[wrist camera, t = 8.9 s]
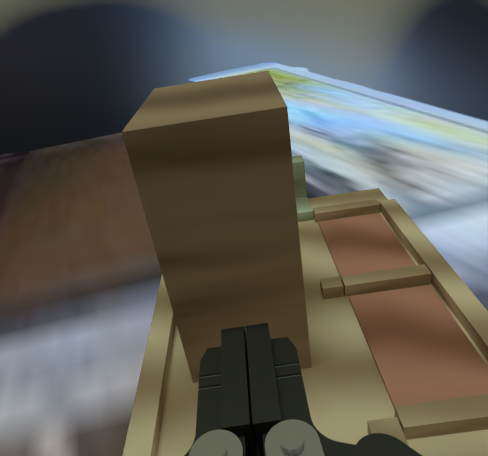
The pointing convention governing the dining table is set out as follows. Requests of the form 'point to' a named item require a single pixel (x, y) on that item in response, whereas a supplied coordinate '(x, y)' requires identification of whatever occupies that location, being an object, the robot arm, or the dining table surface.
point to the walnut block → (222, 209)
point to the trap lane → (352, 338)
